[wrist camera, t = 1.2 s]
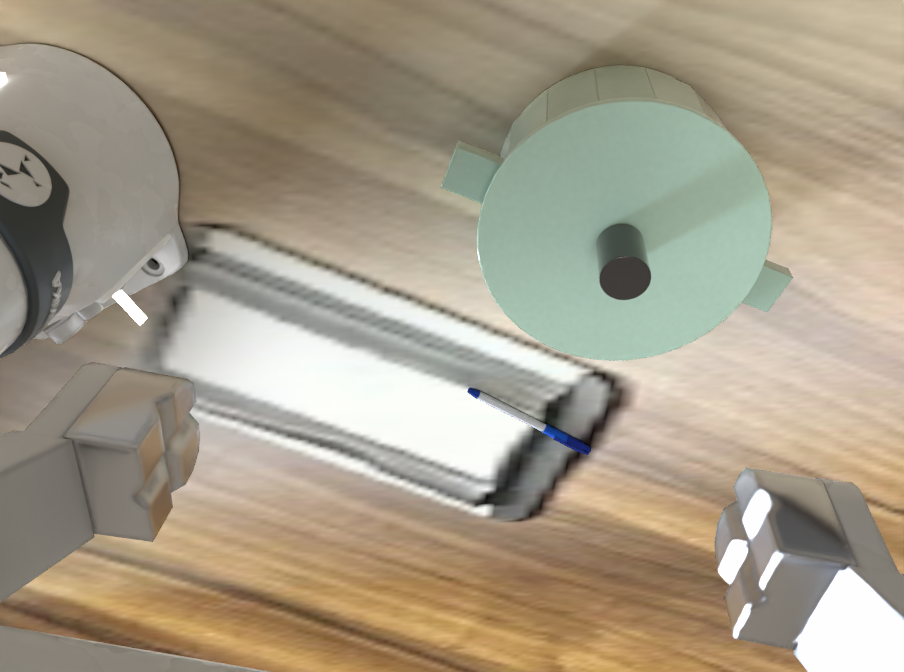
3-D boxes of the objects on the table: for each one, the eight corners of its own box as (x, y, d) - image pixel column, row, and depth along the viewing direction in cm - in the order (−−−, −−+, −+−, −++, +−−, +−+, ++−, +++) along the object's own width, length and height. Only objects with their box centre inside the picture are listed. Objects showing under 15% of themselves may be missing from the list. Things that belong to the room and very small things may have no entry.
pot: (695, 323, 50) (715, 394, 44) (425, 222, 48) (405, 281, 42) (820, 137, 42) (866, 190, 36) (505, 7, 40) (496, 40, 34)
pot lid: (675, 381, 44) (686, 435, 40) (441, 296, 43) (430, 343, 39) (828, 160, 36) (861, 200, 32) (545, 45, 34) (544, 73, 31)
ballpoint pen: (593, 443, 57) (594, 452, 56) (587, 450, 57) (587, 459, 56) (470, 384, 55) (469, 392, 54) (465, 392, 55) (464, 400, 55)
